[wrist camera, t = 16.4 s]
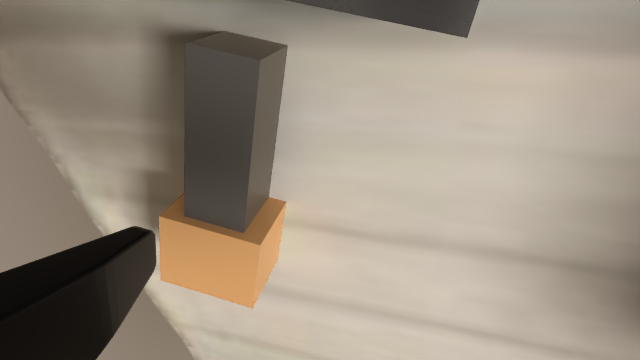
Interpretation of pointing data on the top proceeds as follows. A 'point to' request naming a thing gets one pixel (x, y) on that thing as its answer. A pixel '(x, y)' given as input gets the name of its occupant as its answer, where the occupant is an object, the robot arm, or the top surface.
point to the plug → (227, 170)
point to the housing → (410, 12)
